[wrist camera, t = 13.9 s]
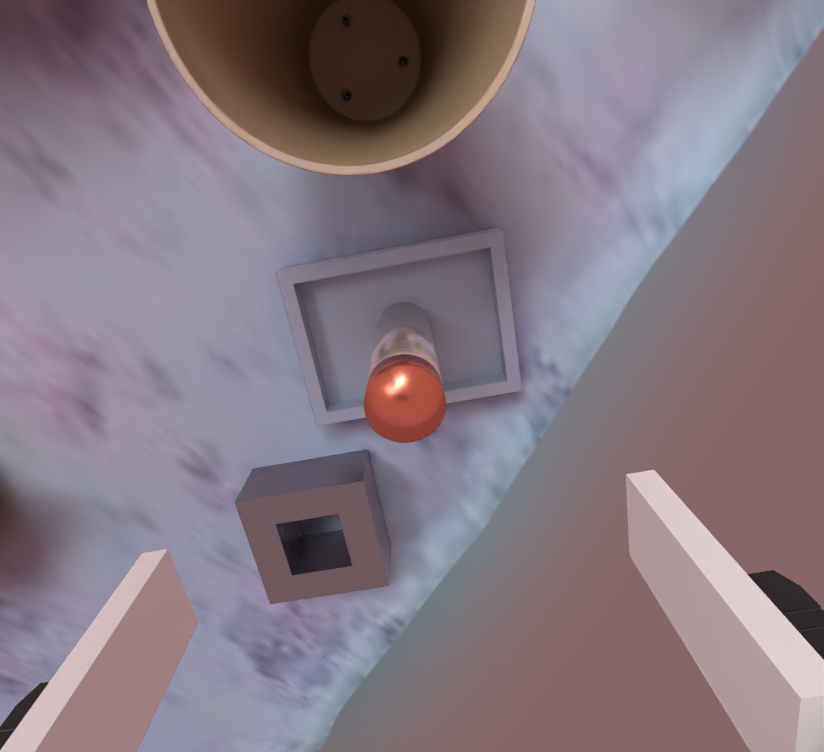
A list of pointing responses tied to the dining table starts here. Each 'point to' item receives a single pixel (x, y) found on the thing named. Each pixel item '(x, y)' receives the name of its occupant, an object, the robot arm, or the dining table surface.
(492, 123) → the dining table surface
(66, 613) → the dining table surface
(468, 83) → the plant pot
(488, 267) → the tray
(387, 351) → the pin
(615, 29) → the dining table surface
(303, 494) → the receiver
